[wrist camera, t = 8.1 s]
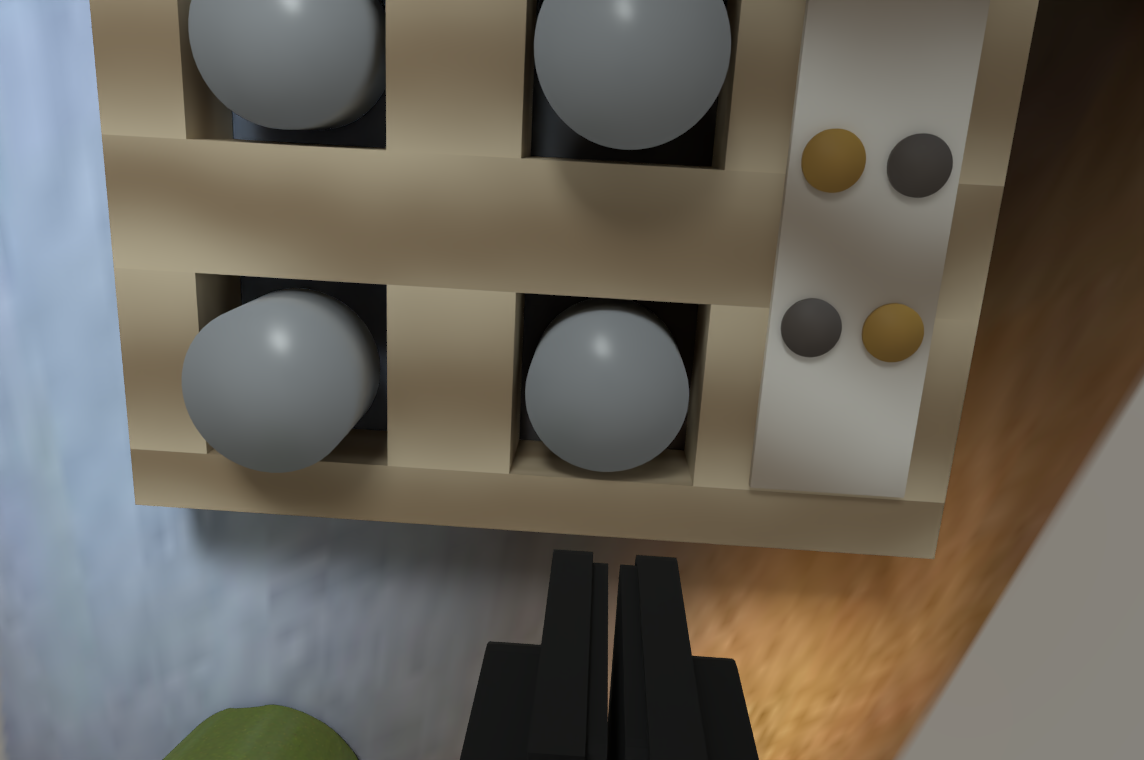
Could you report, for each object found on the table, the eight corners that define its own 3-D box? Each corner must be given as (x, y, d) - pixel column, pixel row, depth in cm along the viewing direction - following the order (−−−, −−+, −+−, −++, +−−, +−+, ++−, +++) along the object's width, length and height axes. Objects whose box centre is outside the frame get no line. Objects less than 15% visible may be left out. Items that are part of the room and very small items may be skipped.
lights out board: (138, -134, 24) (61, -178, 21) (1006, -90, 23) (1072, -128, 20) (182, 468, 29) (126, 511, 26) (900, 515, 28) (940, 566, 25)
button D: (536, 292, 26) (528, 309, 24) (687, 301, 26) (696, 320, 23) (530, 434, 28) (522, 466, 25) (674, 443, 27) (681, 477, 25)
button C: (222, 283, 25) (175, 300, 22) (380, 292, 25) (352, 311, 22) (231, 432, 26) (187, 467, 23) (381, 443, 26) (354, 477, 23)
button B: (546, -41, 22) (538, -66, 20) (725, -32, 22) (741, -55, 19) (538, 143, 23) (529, 144, 21) (707, 153, 23) (720, 155, 21)
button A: (230, -46, 24) (182, -69, 21) (393, -38, 24) (365, -60, 21) (238, 125, 25) (194, 124, 23) (393, 134, 25) (367, 134, 22)
